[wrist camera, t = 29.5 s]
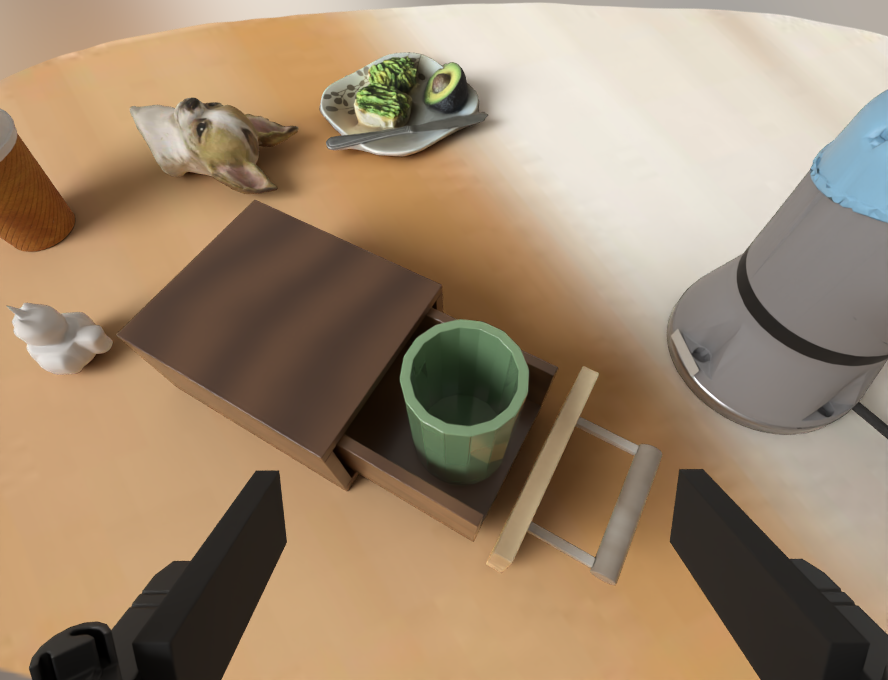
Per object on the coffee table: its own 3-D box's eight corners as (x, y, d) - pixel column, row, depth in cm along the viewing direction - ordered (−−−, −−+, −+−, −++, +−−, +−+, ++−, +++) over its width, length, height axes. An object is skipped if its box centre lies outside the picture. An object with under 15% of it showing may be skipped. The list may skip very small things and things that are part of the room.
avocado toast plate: (372, 199, 53) (366, 164, 49) (285, 117, 59) (273, 80, 55) (504, 121, 59) (508, 84, 55) (411, 55, 65) (409, 18, 61)
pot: (524, 419, 38) (549, 352, 28) (481, 504, 35) (492, 460, 25) (443, 378, 40) (440, 301, 30) (395, 454, 37) (375, 396, 27)
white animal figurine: (59, 330, 45) (-12, 277, 38) (133, 326, 45) (75, 272, 38) (39, 385, 42) (-42, 339, 35) (117, 380, 42) (52, 333, 35)
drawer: (650, 446, 38) (687, 413, 32) (583, 623, 32) (614, 624, 26) (401, 324, 44) (393, 277, 38) (307, 456, 38) (280, 425, 32)
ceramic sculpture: (142, 59, 50) (288, 75, 50) (178, 131, 58) (304, 145, 58) (96, 129, 45) (259, 146, 45) (142, 198, 53) (281, 213, 53)
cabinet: (444, 343, 44) (442, 284, 36) (347, 491, 38) (320, 458, 30) (285, 265, 48) (254, 199, 41) (176, 386, 42) (114, 334, 34)
